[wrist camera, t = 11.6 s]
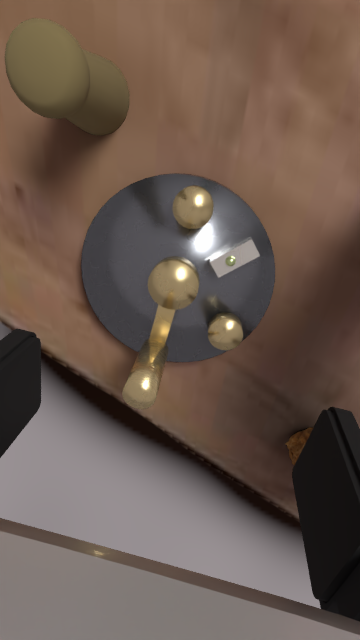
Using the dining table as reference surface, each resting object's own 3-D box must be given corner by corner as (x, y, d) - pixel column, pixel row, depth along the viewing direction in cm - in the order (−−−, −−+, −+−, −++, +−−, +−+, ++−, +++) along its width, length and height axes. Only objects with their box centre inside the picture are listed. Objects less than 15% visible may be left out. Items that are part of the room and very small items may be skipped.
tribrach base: (303, 204, 32) (313, 209, 28) (237, 371, 41) (238, 390, 37) (101, 148, 32) (86, 147, 28) (79, 328, 40) (65, 343, 37)
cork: (110, 149, 32) (61, 143, 22) (54, 110, 31) (-26, 85, 21) (141, 83, 29) (100, 42, 19) (80, 38, 28) (5, -28, 18)
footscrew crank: (157, 249, 33) (136, 279, 25) (205, 264, 33) (200, 298, 25) (133, 348, 38) (108, 400, 30) (174, 361, 38) (161, 416, 30)
